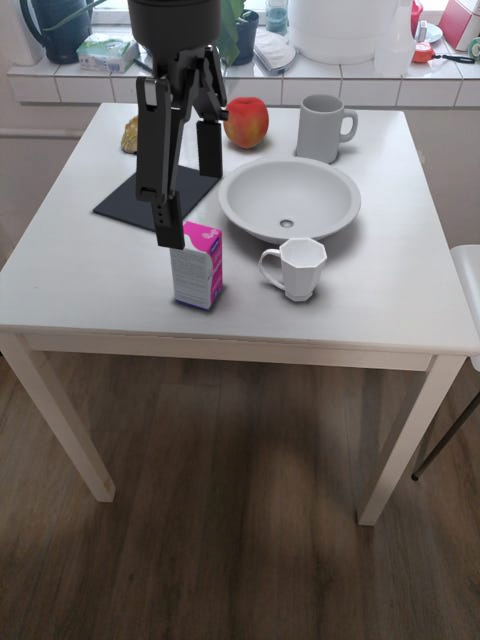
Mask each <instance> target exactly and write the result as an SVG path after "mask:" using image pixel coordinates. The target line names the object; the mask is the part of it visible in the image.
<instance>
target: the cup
mask: <svg viewBox="0 0 480 640" xmlns="http://www.w3.org/2000/svg"><path fill="white" fill-rule="evenodd" d="M267 255H272V256H275V257H278V258H280V266H281V274H282V281H283V284H282V283H280V282H279V281H278V280H276V279H275V278H274V277H273V276H271V275H270V274H269V273H267V271H266V270H265V269H264V267H263V259H264V257H266V256H267ZM327 260H328V256H327V252H326V248H325V245H324V244H322V243H320V242H319V241H315V240H313V239H311V238H290V239H289V240H288V241H287V242H285V243H284V244H283V245H279V249H276V248H268V249H266V250H265V251H263V252H262V254H261V256H260V259H259V260H258V266H257V267H258V271H259V272H260V274H261V275H262V276H263V278H265V279H266V280H267V281H268V282H270V283H271V284H272V285H273V286H274V287H277V288H278V289H279V290H281V291H282V290H283V291H284V293H285V297H286V298H288V299H290V300H291V301H293V302H306V301H307V300H308V299H310V297H312V296H313V291H314V289H315V288H316V286H317V284H318V282H319V280H320V278H321V275H322V272H323V269H324V267H325V264H326V262H327Z"/></svg>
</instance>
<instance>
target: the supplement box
mask: <svg viewBox="0 0 480 640" xmlns="http://www.w3.org/2000/svg"><path fill="white" fill-rule="evenodd" d="M183 230H184V239H185V247H184V249H183V250H178V249H172V248H168V249H169V256H170V257H169V258H170V268H171V275H172V283H173V284H172V285H173V292H174V293H173V294H174V302H175V303H179V304H181V305H184V306H185V305H186V306H188V307H193V308H196V309H198V310H202V311H205V312H209V311H210V309H211V307H212V305H213V303H214V302H215V300H216V298H217V297H218V295H219V293H220V292H221V291H222V289H223V285H224V283H223V230H222V229H220V228H216V227H211V226H207V225H204V224H201V223H196V222H193V221H191V220H190V221H189V220H186V221H185V223H183Z"/></svg>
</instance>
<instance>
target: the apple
mask: <svg viewBox="0 0 480 640" xmlns="http://www.w3.org/2000/svg"><path fill="white" fill-rule="evenodd" d="M224 110H229V119H228V121H222V126H223V130H224V133H225V135H226V137H227V138H228V140H229V141H230V142H232V143H233V144H235V146H238V147H240V148H242V149H245V150H246V149H247V150H249V149H252V148H254V147H256V146H257V145H258V144H260V142H261V141H262V140H264V138H265V137H266V135H267V133H268V130H269V126H270V115H269V110H268V107H267V105H266V103H265V101H263V100H262V99H260V98H259V97H255V96H239V97H235V98H234V99H232V100H231V101H229V102H228V103H227V105H226V107H225V109H224Z"/></svg>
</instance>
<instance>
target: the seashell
mask: <svg viewBox="0 0 480 640" xmlns="http://www.w3.org/2000/svg"><path fill="white" fill-rule="evenodd" d="M137 130H138V114H137V115H135V116H133V118H130V119H129V121H128V123H126V124H125V125H124V133H123V134H122V137H121V140H120V146H121V148H122V151H124V152H125V153H127V154H134V153H135V152H137Z"/></svg>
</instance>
